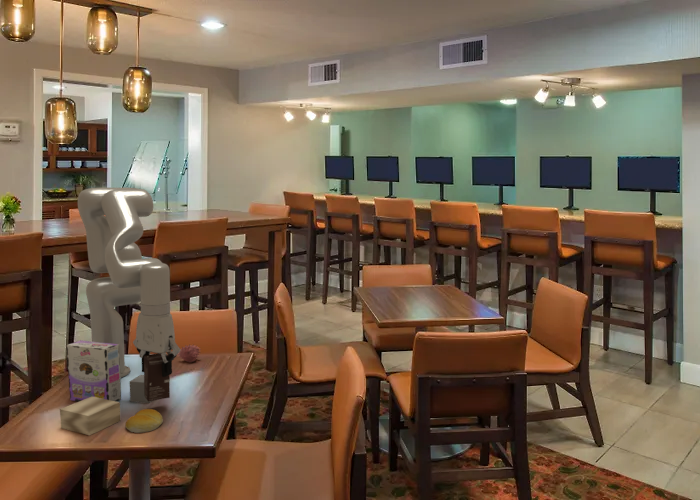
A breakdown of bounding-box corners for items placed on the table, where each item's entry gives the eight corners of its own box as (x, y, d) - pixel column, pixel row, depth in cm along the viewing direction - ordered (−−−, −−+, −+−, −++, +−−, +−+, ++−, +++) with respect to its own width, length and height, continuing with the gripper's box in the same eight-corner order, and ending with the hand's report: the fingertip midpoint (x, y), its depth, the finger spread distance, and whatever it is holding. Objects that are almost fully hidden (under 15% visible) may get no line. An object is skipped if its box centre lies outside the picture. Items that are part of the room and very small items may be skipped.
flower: (195, 349, 203) (194, 336, 207) (174, 358, 203) (172, 346, 207) (206, 361, 209) (204, 348, 213) (185, 370, 209) (183, 358, 213)
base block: (61, 428, 153) (60, 409, 152) (93, 414, 162) (92, 396, 161) (89, 435, 149) (88, 415, 148) (120, 420, 158) (119, 402, 157)
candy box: (122, 399, 173) (120, 343, 171) (108, 406, 168) (105, 348, 166) (84, 393, 178) (81, 339, 176) (68, 400, 172) (65, 344, 170)
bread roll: (119, 432, 151) (119, 417, 151) (140, 418, 160) (139, 404, 159) (149, 436, 149) (148, 420, 149) (168, 421, 158) (168, 407, 157)
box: (148, 402, 162) (147, 359, 160) (144, 397, 166) (142, 355, 164) (171, 398, 165) (170, 356, 164) (166, 393, 169) (165, 351, 167)
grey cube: (130, 401, 171) (129, 381, 171) (141, 394, 177) (140, 374, 176) (149, 403, 170) (148, 382, 169) (160, 395, 176) (159, 376, 175)
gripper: (120, 307, 162) (122, 371, 165) (170, 316, 155) (172, 383, 157) (141, 302, 169) (143, 363, 171) (190, 310, 161) (191, 374, 164)
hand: (156, 372), depth 164 cm, fingers closed on box, 6 cm apart
